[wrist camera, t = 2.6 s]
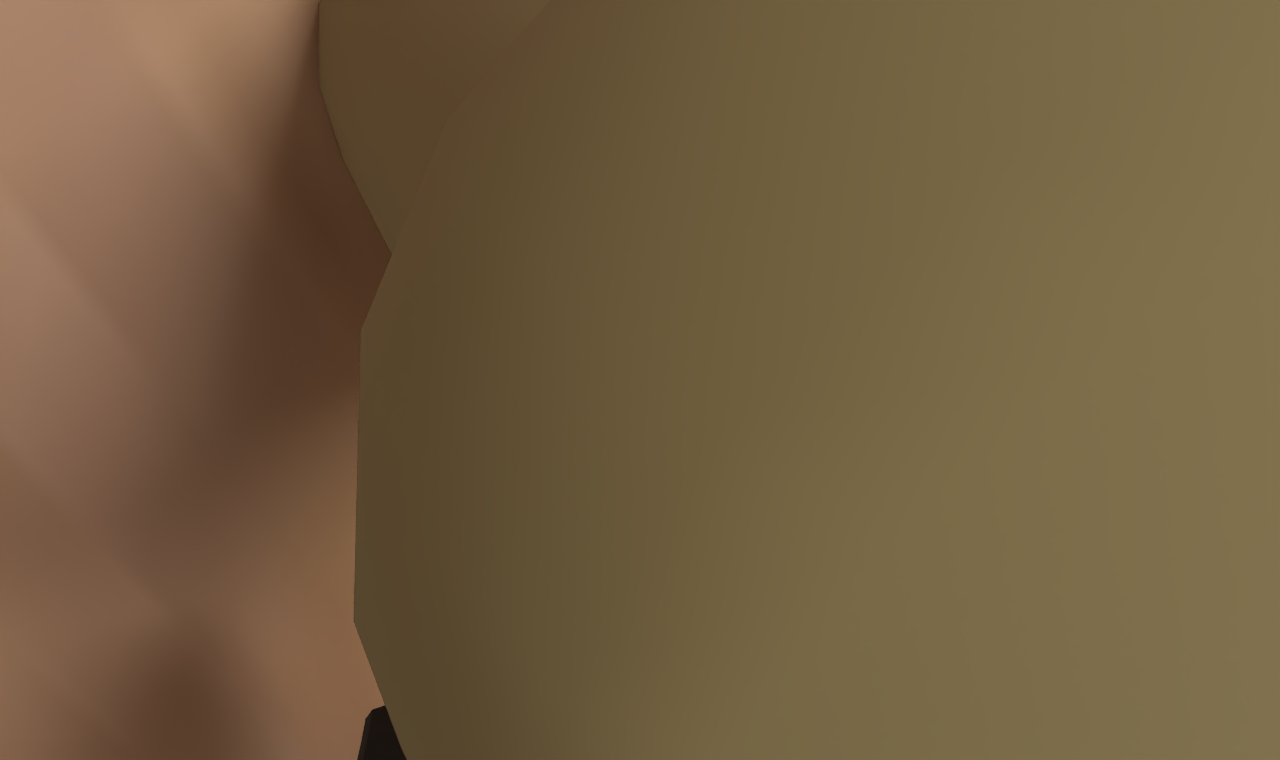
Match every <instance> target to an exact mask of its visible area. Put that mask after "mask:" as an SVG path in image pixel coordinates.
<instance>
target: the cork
mask: <svg viewBox="0 0 1280 760" xmlns="http://www.w3.org/2000/svg"><path fill="white" fill-rule="evenodd" d="M319 87H320V90H321V93H322V97H323V100H324V103H325V106H326V109H327V112H328V115H329V118H330V121H331V124H332V127H333V131H334V134H335V137H336V140H337V143H338V146H339V149H340V152H341V155H342V158H343V161H344V162H345V164H346V166H347V168H348V170H349V172H350V174H351V176H352V178H353V180H354V182H355V184H356V186H357V188H358V190H359V192H360V194H361V196H362V198H363V200H364V202H365V204H366V206H367V208H368V209H369V211H370V213H371V215H372V217H373V219H374V221H375V223H376V225H377V227H378V229H379V231H380V233H381V235H382V237H383V239H384V241H385V243H386V245H387V247H388V249H389V251H390V253H391V254H392V255H391V258H390V260H389V263H388V265H387V268H386V270H385V272H384V275H383V277H382V280H381V282H380V285H379V287H378V290H377V292H376V294H375V297H374V299H373V302H372V304H371V307H370V309H369V312H368V314H367V316H366V319H365V321H364V324H363V326H362V329H361V338H360V379H359V420H358V461H357V501H356V543H355V586H354V623H355V626H356V628H357V631H358V634H359V636H360V639H361V642H362V644H363V647H364V650H365V652H366V655H367V658H368V660H369V663H370V666H371V668H372V671H373V674H374V676H375V679H376V682H377V684H378V687H379V690H380V692H381V695H382V698H383V700H384V703H385V706H386V708H387V711H388V714H389V716H390V719H391V722H392V724H393V727H394V730H395V732H396V735H397V738H398V740H399V743H400V746H401V748H402V750H403V753H404V755H405V757H406V759H407V760H1280V0H320V3H319Z"/></svg>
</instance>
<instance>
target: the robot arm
mask: <svg viewBox="0 0 1280 760" xmlns="http://www.w3.org/2000/svg"><path fill="white" fill-rule="evenodd" d="M357 760H407V759H406V757H405V755H404V753H403V750H402V748H401V746H400V743H399V740H398V738H397V735H396V732H395V730H394V727H393V724H392V722H391V719H390V716H389V714H388V711H387V708H386V706H382V707H379V708H376V709H373V710H372V711H371V712H370V714H369V715H368V716H367V718H366V720H365V725H364V730H363V736H362V741H361V746H360V750H359V755H358V759H357Z"/></svg>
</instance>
